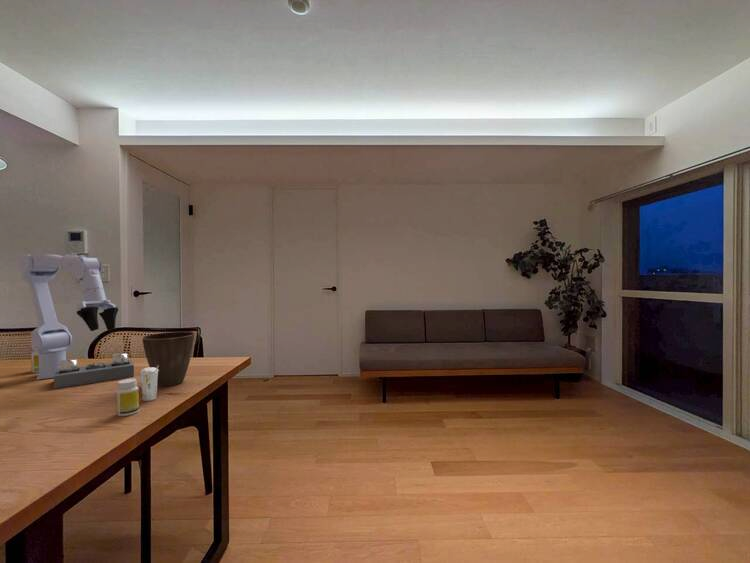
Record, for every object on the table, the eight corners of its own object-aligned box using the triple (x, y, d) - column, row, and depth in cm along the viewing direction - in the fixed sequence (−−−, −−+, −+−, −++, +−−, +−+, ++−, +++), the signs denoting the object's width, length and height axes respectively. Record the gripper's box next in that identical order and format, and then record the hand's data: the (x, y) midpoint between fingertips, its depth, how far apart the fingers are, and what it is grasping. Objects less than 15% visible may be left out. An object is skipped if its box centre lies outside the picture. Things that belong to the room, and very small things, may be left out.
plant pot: (131, 388, 111) (130, 338, 111) (170, 375, 126) (169, 330, 126) (169, 392, 107) (168, 340, 107) (205, 378, 122) (204, 332, 122)
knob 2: (112, 366, 127) (112, 353, 127) (127, 364, 130) (127, 351, 130) (113, 368, 124) (113, 355, 124) (128, 366, 127) (128, 353, 126)
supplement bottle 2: (143, 410, 93) (142, 379, 93) (125, 417, 88) (124, 384, 88) (130, 408, 94) (129, 377, 94) (112, 415, 90) (111, 382, 90)
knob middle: (87, 376, 123) (87, 363, 123) (103, 374, 126) (103, 361, 126) (87, 379, 119) (87, 366, 119) (104, 377, 122) (103, 364, 122)
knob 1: (60, 373, 118) (60, 359, 118) (78, 370, 121) (77, 357, 121) (60, 376, 115) (59, 362, 115) (77, 373, 118) (77, 360, 118)
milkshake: (152, 402, 99) (151, 367, 98) (136, 401, 100) (135, 366, 99) (165, 397, 103) (164, 363, 103) (149, 396, 104) (148, 362, 104)
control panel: (56, 380, 120) (56, 369, 120) (131, 370, 133) (130, 359, 133) (54, 388, 112) (53, 376, 112) (134, 376, 125) (133, 365, 125)
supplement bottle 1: (27, 372, 132) (27, 346, 131) (44, 368, 137) (43, 344, 137) (38, 373, 130) (37, 347, 130) (54, 369, 135) (53, 344, 135)
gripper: (88, 285, 111) (99, 326, 110) (120, 289, 126) (129, 325, 124) (66, 292, 111) (76, 333, 109) (100, 295, 125) (109, 332, 124)
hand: (103, 329), depth 117 cm, fingers open, 7 cm apart
